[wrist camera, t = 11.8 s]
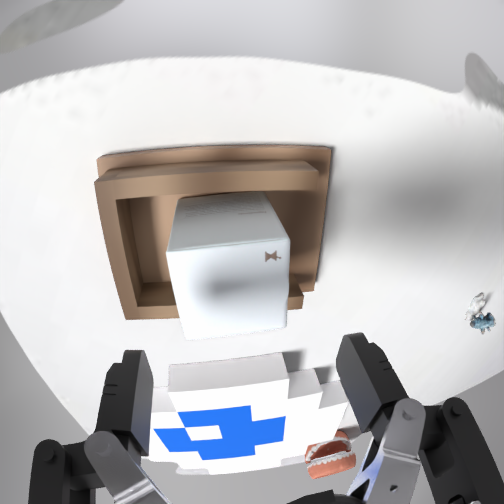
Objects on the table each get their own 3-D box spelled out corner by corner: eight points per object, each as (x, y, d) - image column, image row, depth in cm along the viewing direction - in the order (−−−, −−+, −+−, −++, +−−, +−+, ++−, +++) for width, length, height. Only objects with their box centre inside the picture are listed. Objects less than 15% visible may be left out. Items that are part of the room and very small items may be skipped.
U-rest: (325, 146, 21) (349, 159, 17) (309, 283, 27) (324, 313, 23) (102, 155, 19) (80, 170, 15) (127, 294, 25) (118, 327, 21)
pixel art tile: (165, 475, 40) (96, 392, 26) (165, 457, 43) (102, 364, 29) (324, 456, 43) (362, 362, 29) (319, 438, 46) (349, 336, 32)
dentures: (351, 423, 44) (366, 460, 37) (345, 438, 48) (357, 471, 41) (303, 436, 44) (314, 475, 37) (301, 450, 47) (311, 485, 40)
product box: (175, 196, 20) (163, 249, 14) (265, 188, 21) (294, 236, 14) (187, 272, 23) (184, 342, 17) (266, 264, 24) (289, 330, 17)
